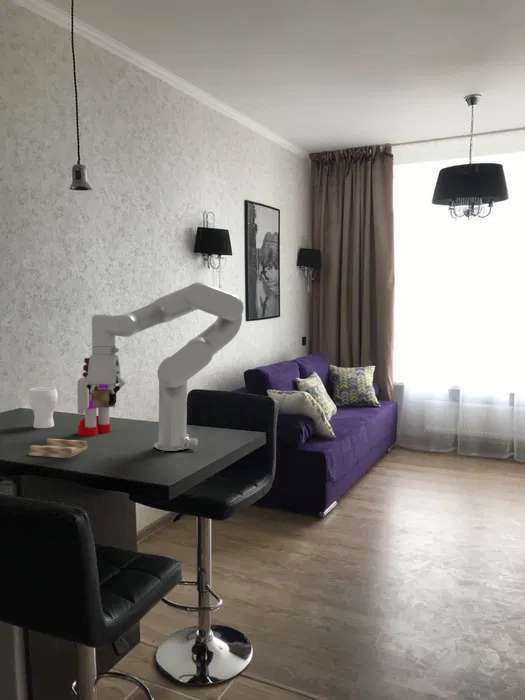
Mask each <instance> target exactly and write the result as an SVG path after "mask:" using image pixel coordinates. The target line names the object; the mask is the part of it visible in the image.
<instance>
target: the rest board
mask: <svg viewBox="0 0 525 700" xmlns="http://www.w3.org/2000/svg"><path fill="white" fill-rule="evenodd" d="M87 442H88V441H87V440H76V439H62V438H61V439H60V438H47V439H46V444H44V445H30V446H29V452H28V456H34V457H35V456H37V457H48V458H49V457H50V458H63V459H70V458H72V457H74V456H76V455H78V454H81V453H82V452H84V451H86V450H88V443H87Z"/></svg>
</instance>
